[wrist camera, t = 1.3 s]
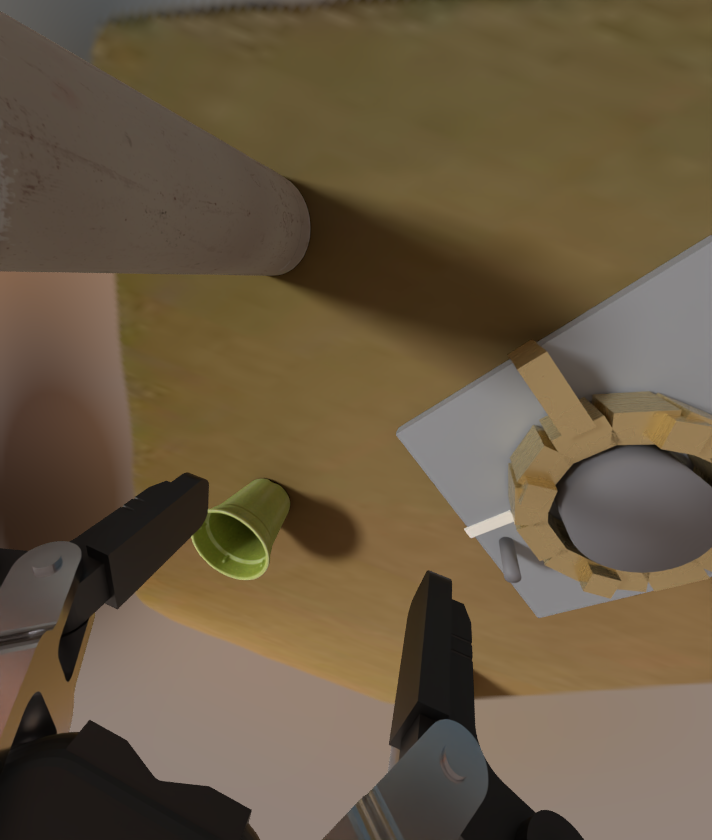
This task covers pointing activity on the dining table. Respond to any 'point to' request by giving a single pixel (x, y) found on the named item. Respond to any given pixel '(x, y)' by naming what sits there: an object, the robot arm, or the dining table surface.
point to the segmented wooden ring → (581, 438)
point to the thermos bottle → (126, 178)
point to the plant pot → (243, 530)
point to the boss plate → (590, 366)
